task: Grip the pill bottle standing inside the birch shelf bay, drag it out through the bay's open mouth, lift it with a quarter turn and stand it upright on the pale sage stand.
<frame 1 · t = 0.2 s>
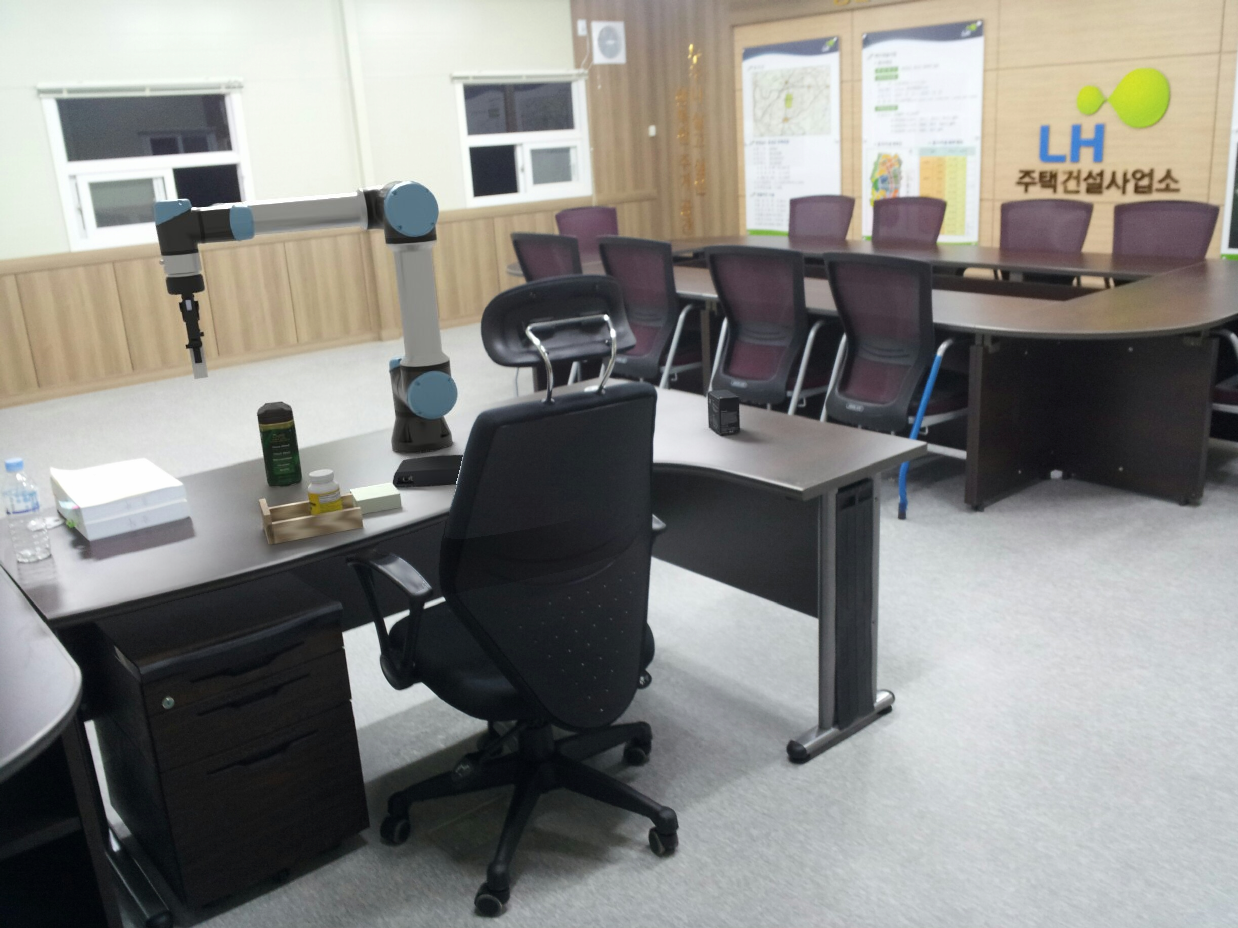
hand: (200, 372, 236), 28 cm above the table, fingers open, 13 cm apart
stand: (376, 504, 229), on the table
box: (724, 431, 269), on the table
pill bottle: (328, 525, 219), on the table
external hard drive: (439, 480, 246), on the table
shelf bay: (316, 526, 218), on the table
coffee jar: (285, 483, 249), on the table
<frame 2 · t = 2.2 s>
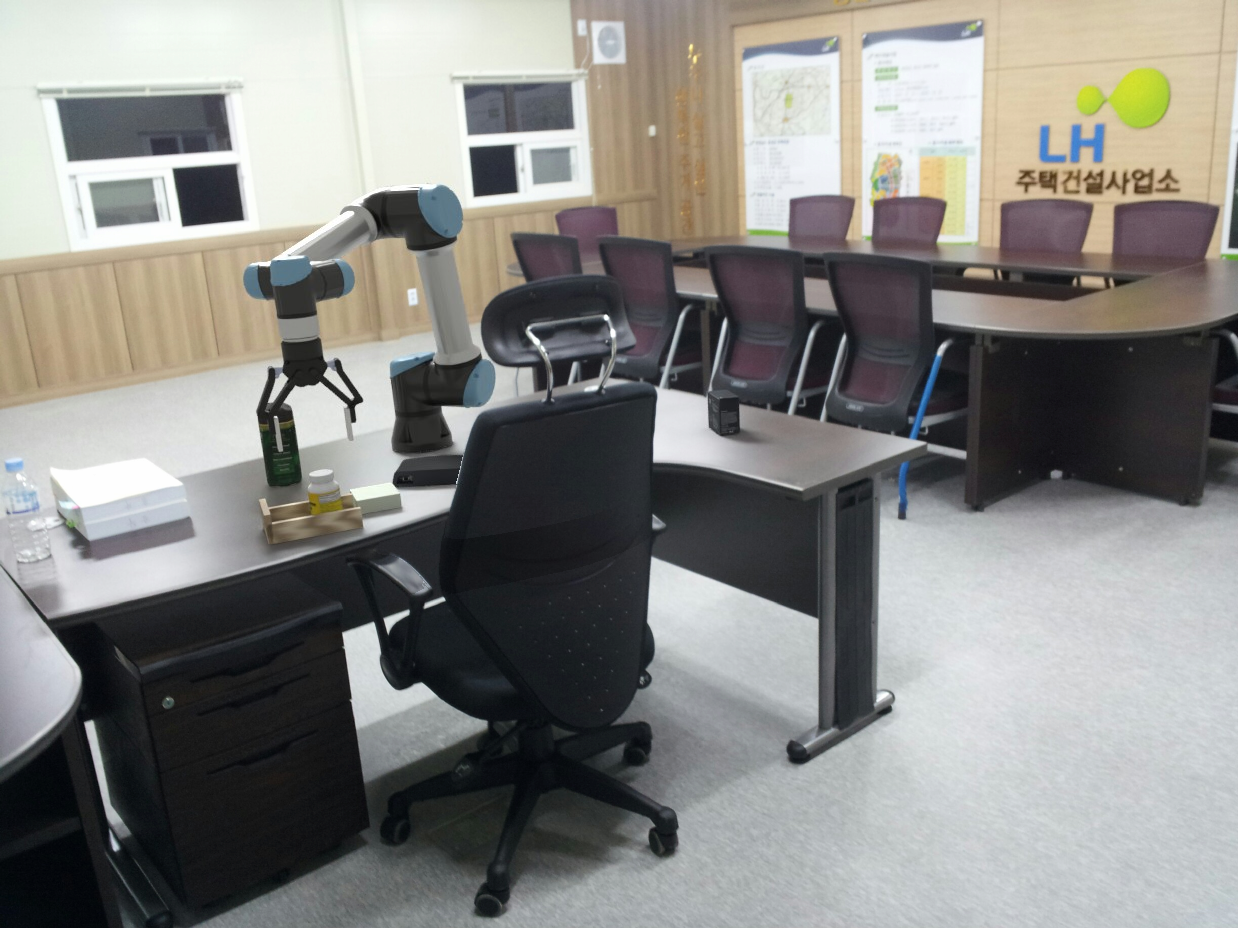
hand: (315, 444, 214), 17 cm above the table, fingers open, 13 cm apart
nothing on the table moved.
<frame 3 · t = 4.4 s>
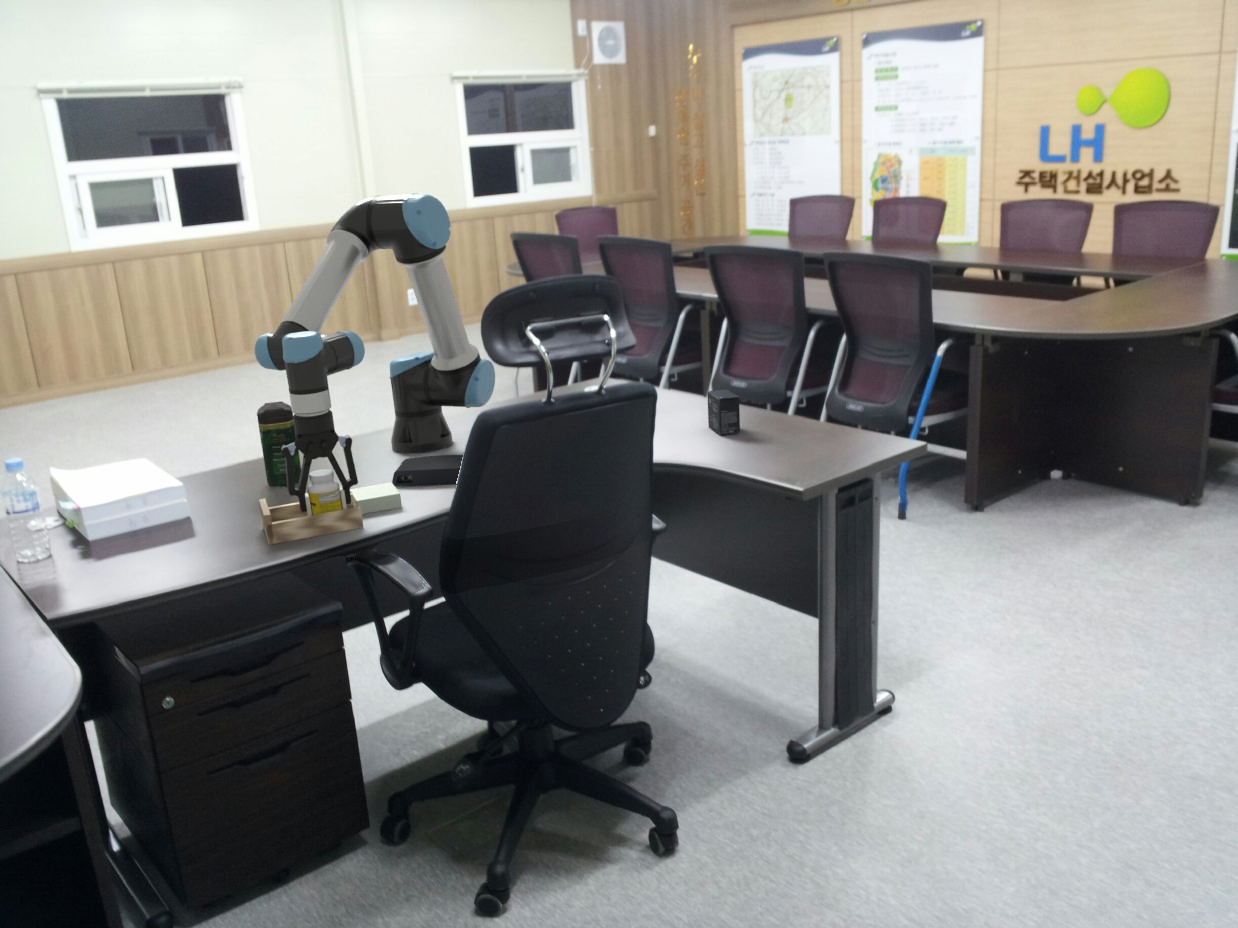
hand: (328, 522, 218), 0 cm above the table, fingers closed on pill bottle, 6 cm apart
pill bottle: (328, 525, 219), on the table, touching gripper
everything else where it was.
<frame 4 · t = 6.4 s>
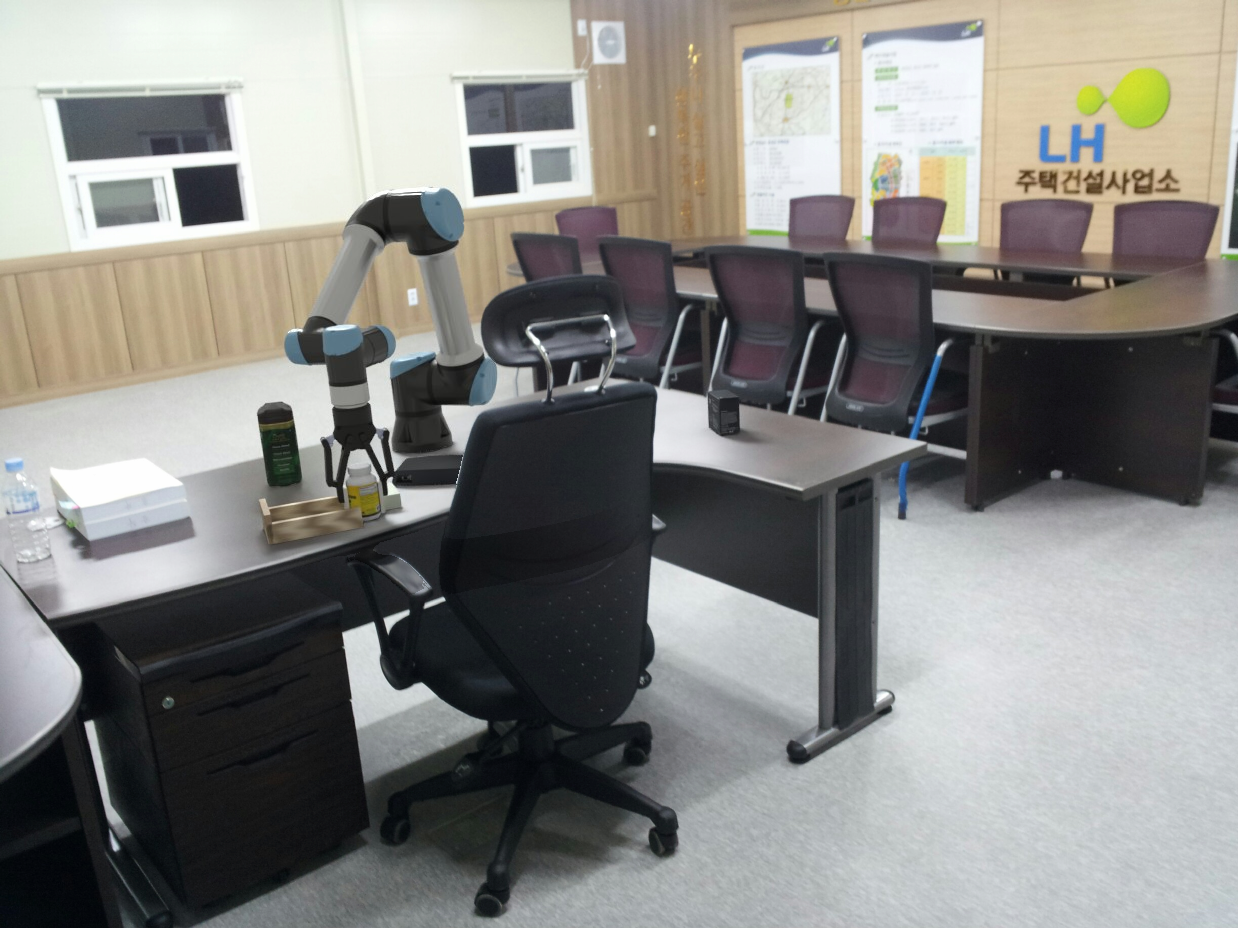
hand: (365, 514, 221), 1 cm above the table, fingers closed on pill bottle, 6 cm apart
pill bottle: (365, 518, 221), on the table, touching gripper
everything else where it was.
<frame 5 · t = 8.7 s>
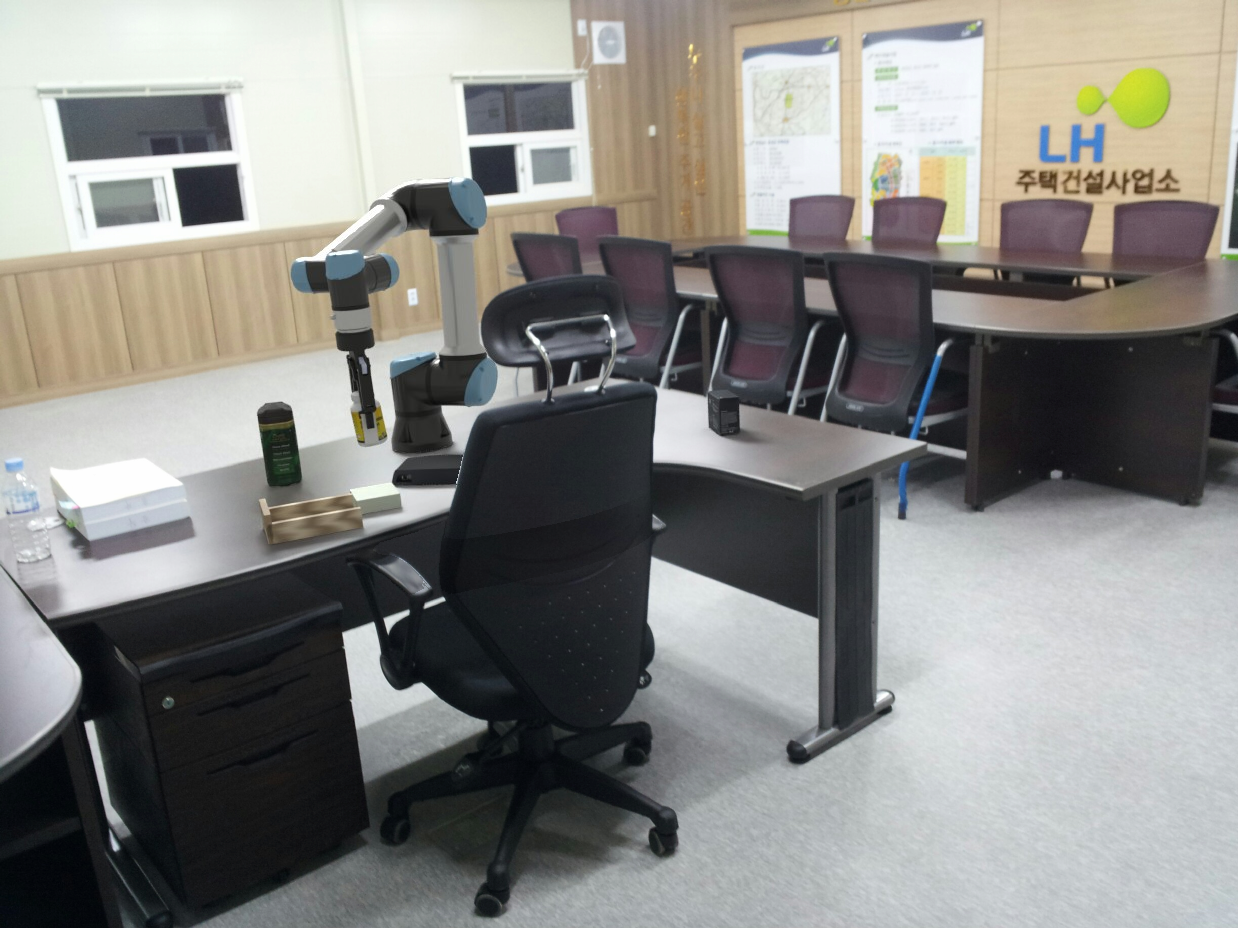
hand: (368, 439, 225), 14 cm above the table, fingers closed on pill bottle, 6 cm apart
pill bottle: (373, 443, 225), point 13 cm above the table, touching gripper
everything else where it was.
when the fingers open (5 cm above the table, at t = 10.9 s): pill bottle stays where it is, resting on stand.
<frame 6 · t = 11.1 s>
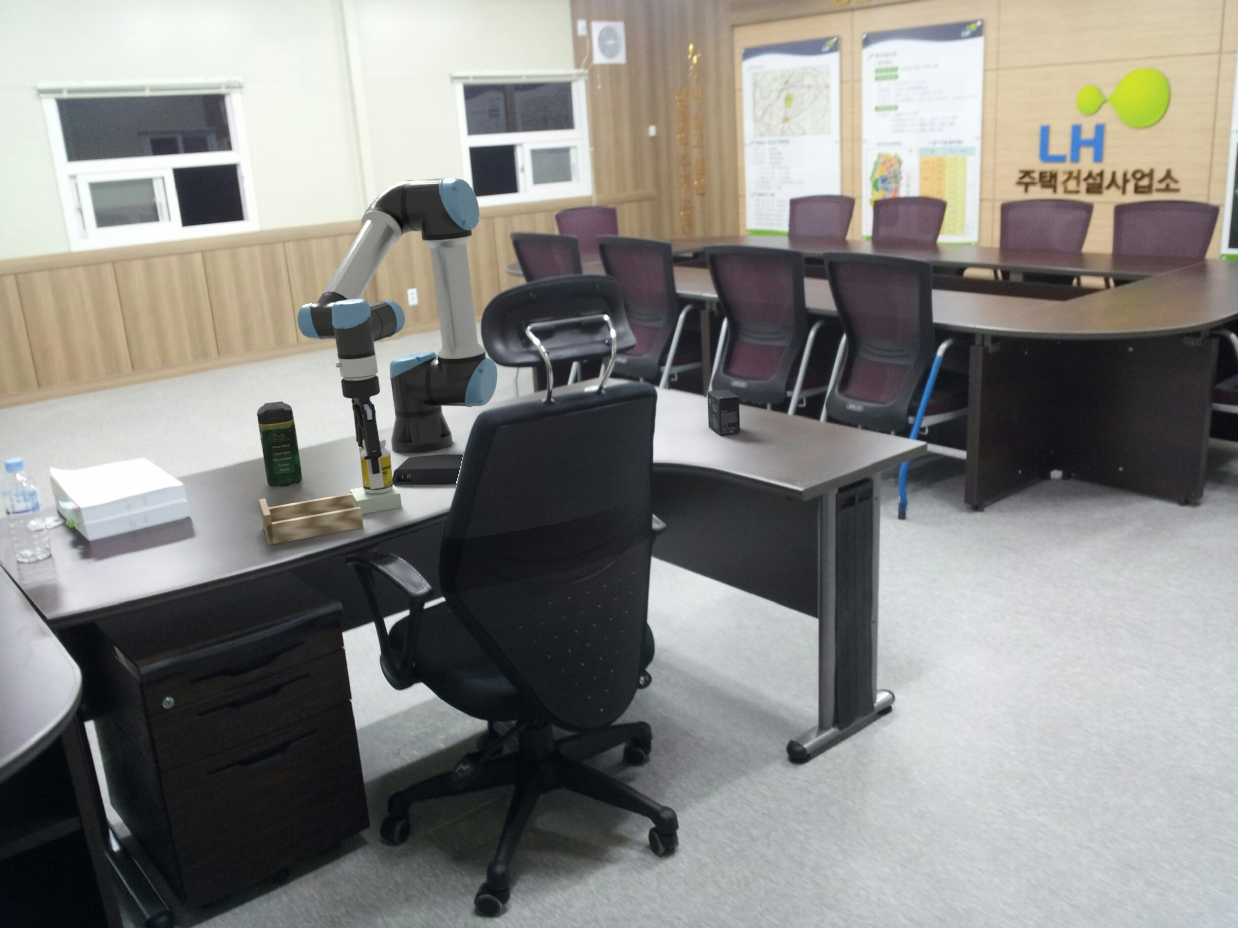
hand: (373, 482, 227), 5 cm above the table, fingers open, 8 cm apart
pill bottle: (378, 491, 228), point 3 cm above the table, touching stand
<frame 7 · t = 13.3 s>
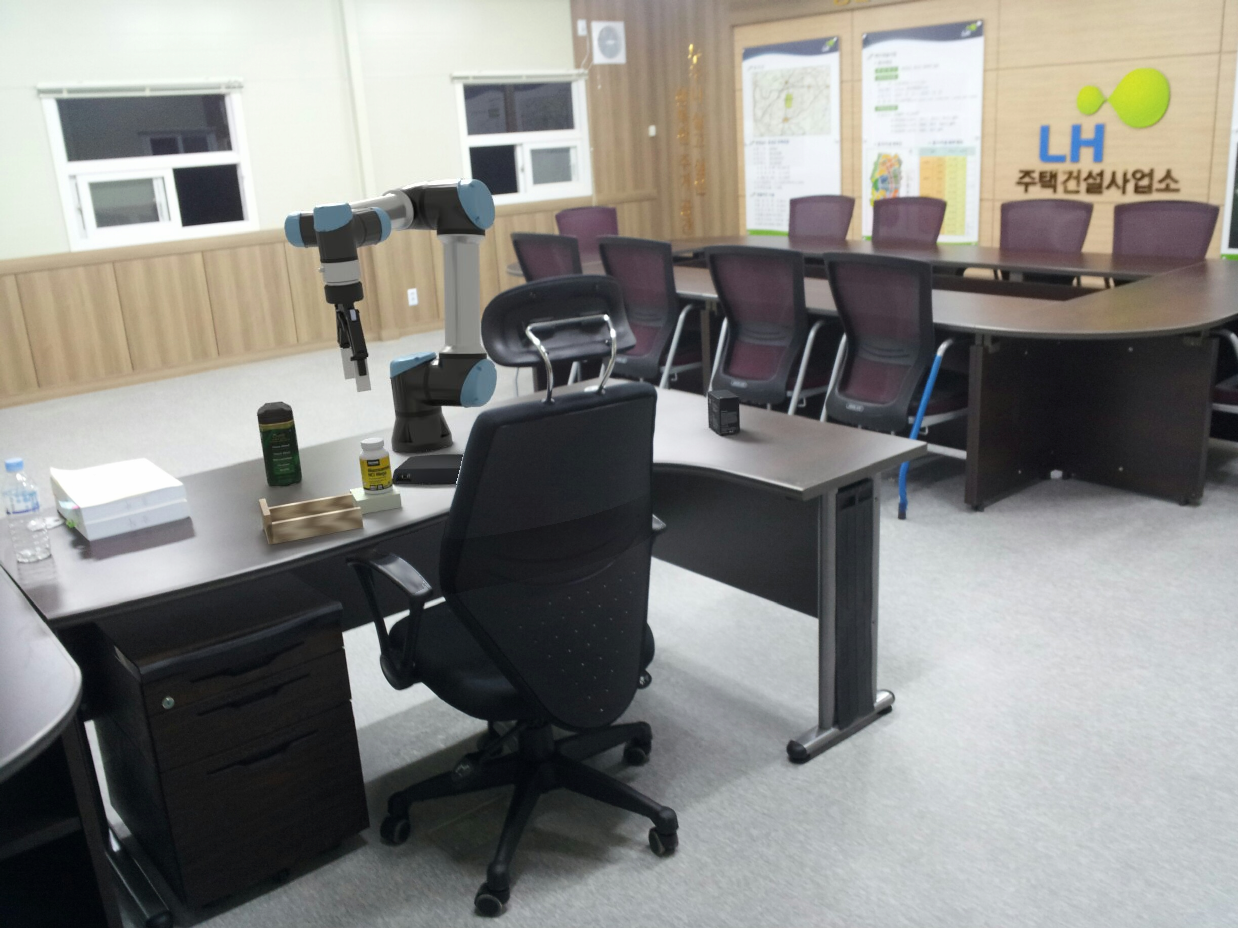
hand: (357, 384, 225), 25 cm above the table, fingers open, 13 cm apart
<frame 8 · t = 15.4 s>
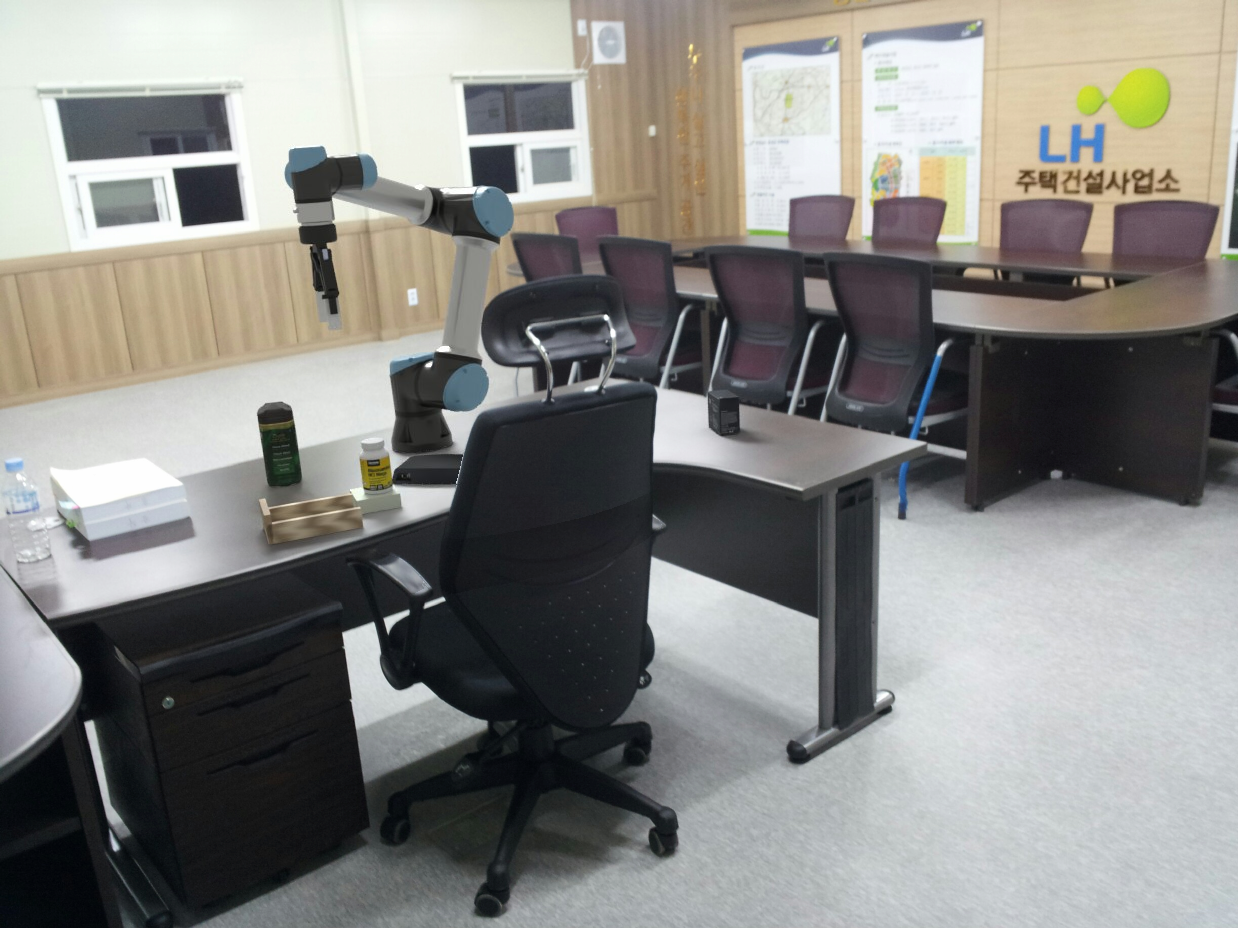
hand: (330, 325, 230), 37 cm above the table, fingers open, 13 cm apart
at the end: pill bottle 0.9 cm from the stand (horizontally); pill bottle point 2.8 cm above the table; pill bottle tilted 0° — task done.
